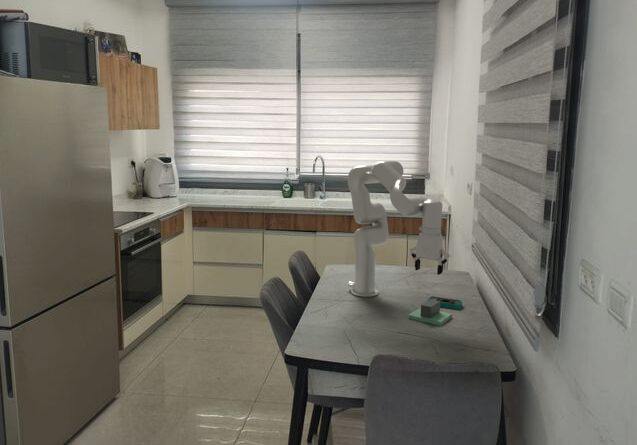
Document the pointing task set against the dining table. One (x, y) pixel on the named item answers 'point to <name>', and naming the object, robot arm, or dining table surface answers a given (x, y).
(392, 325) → the dining table surface
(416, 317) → the board
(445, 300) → the digital multimeter
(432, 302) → the block
